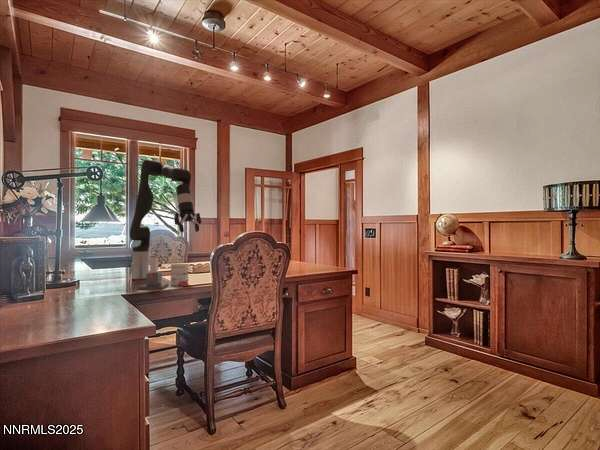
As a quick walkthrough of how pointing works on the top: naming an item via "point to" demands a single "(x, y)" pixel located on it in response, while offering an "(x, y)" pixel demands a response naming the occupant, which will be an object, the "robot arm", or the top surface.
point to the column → (154, 264)
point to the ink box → (179, 274)
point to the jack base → (153, 282)
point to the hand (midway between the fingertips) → (189, 231)
